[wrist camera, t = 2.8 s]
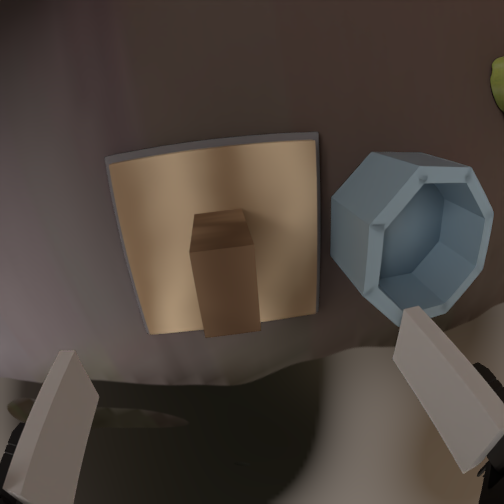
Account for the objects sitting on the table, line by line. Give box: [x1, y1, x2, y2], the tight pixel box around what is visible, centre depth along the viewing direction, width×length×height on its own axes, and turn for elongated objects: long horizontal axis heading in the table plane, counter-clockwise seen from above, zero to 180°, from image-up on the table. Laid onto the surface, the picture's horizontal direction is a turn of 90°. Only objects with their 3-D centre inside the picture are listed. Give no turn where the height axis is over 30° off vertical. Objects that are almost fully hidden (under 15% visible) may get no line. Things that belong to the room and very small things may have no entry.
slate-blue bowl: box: [330, 152, 494, 327], centre depth 20 cm, size 11×11×6 cm
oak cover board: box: [109, 140, 317, 338], centre depth 19 cm, size 13×13×7 cm
